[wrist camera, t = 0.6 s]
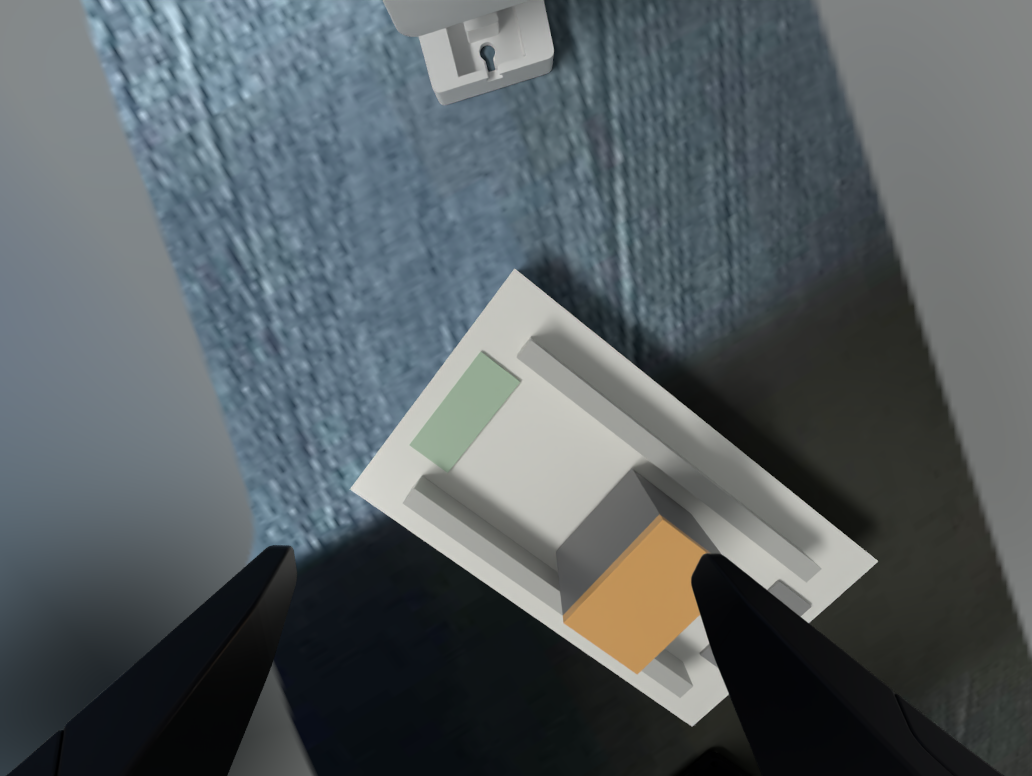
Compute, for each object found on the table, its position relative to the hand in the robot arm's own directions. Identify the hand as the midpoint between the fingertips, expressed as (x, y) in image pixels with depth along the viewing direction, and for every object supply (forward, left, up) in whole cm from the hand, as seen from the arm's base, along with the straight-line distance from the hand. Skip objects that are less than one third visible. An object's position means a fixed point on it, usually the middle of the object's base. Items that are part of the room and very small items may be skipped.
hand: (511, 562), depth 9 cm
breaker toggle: (-8, +2, -11) cm, 14 cm away
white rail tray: (-8, +2, -14) cm, 16 cm away
